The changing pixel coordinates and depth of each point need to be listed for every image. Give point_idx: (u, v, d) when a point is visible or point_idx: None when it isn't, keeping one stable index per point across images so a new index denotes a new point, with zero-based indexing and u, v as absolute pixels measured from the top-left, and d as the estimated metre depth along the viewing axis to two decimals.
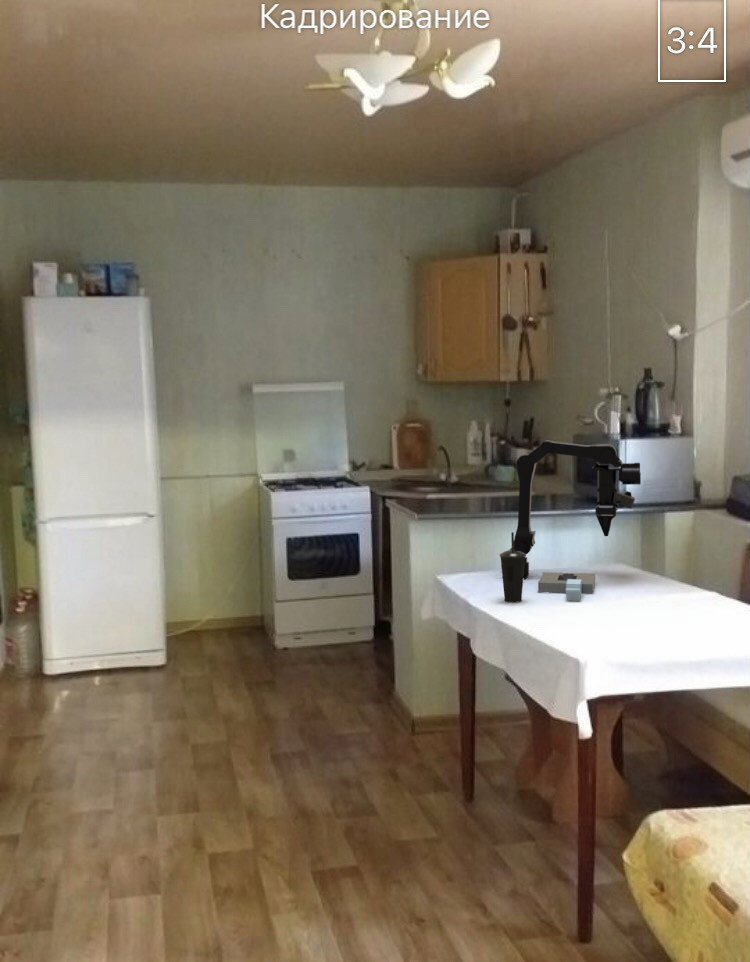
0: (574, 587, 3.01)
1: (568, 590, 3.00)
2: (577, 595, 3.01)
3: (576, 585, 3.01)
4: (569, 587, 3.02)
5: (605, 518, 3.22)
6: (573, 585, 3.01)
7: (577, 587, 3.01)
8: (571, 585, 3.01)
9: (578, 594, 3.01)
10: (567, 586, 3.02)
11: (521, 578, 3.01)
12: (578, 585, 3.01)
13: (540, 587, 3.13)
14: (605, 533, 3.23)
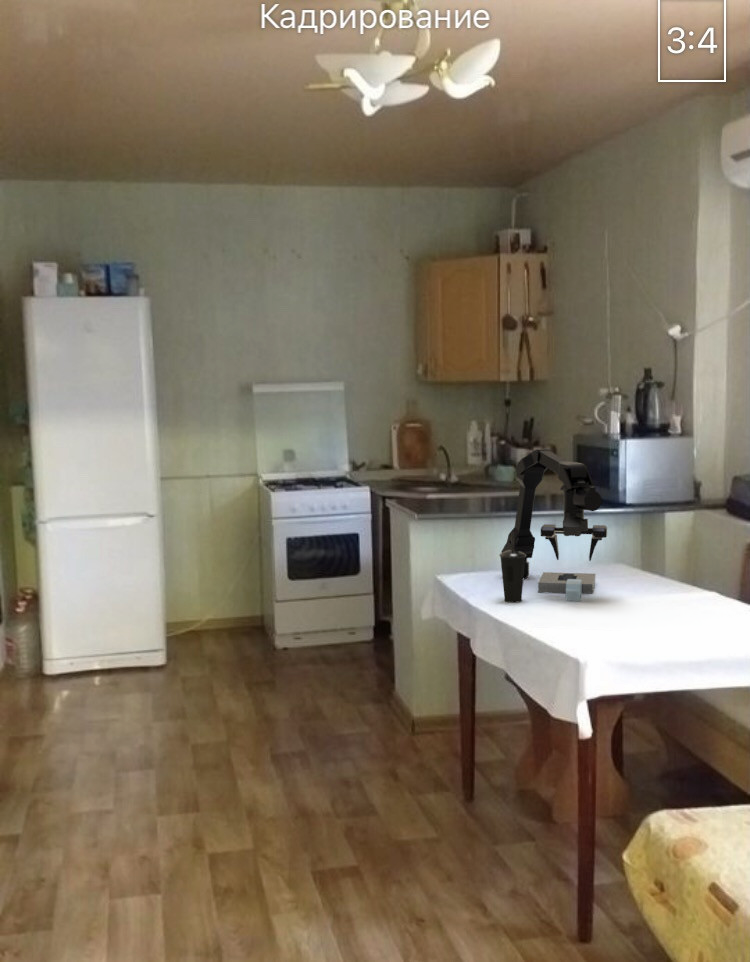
0: (574, 587, 3.01)
1: (568, 590, 3.00)
2: (577, 595, 3.01)
3: (576, 585, 3.01)
4: (569, 587, 3.02)
5: None
6: (573, 585, 3.01)
7: (577, 587, 3.01)
8: (571, 585, 3.01)
9: (578, 594, 3.01)
10: (567, 586, 3.02)
11: (521, 578, 3.01)
12: (578, 585, 3.01)
13: (540, 587, 3.13)
14: (556, 556, 3.05)
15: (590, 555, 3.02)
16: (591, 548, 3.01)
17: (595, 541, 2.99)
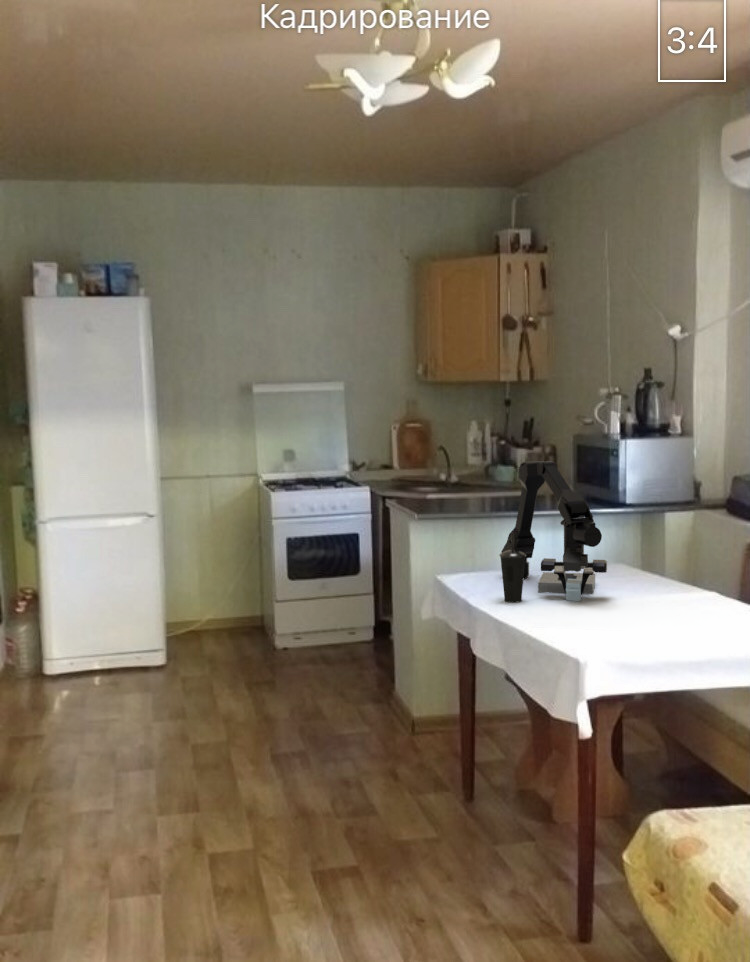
0: (574, 587, 3.01)
1: (568, 590, 3.00)
2: (577, 595, 3.01)
3: (576, 585, 3.01)
4: (569, 587, 3.02)
5: None
6: (573, 585, 3.01)
7: (577, 587, 3.01)
8: (571, 585, 3.01)
9: (578, 594, 3.01)
10: (567, 586, 3.02)
11: (521, 578, 3.01)
12: (578, 585, 3.01)
13: (540, 587, 3.13)
14: None
15: (581, 589, 3.03)
16: (582, 582, 3.02)
17: (586, 576, 3.01)
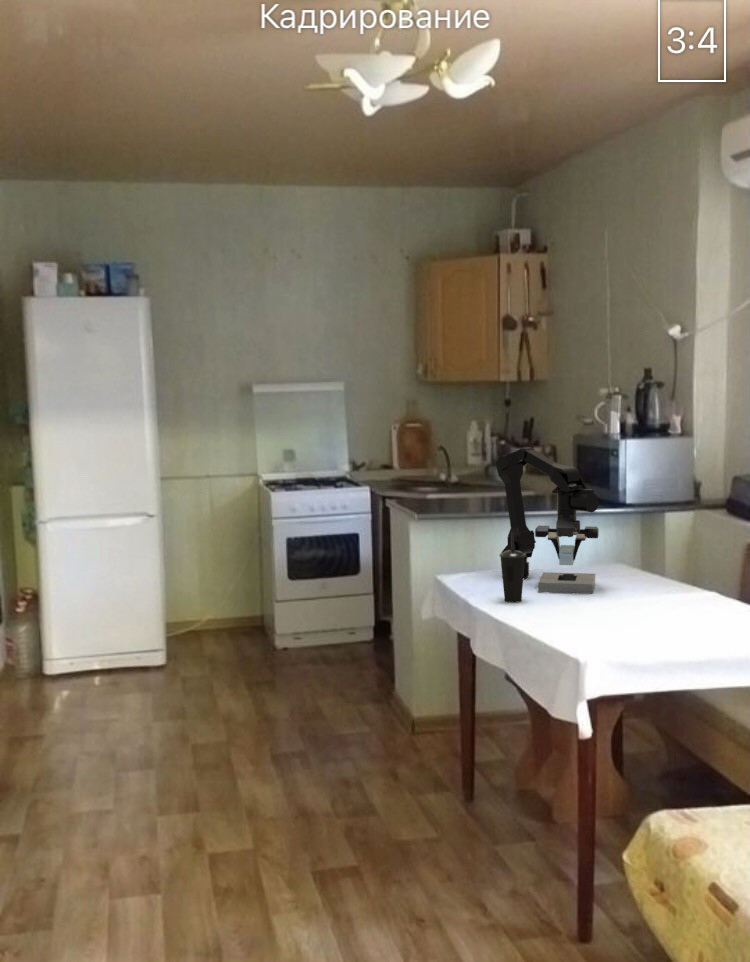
0: (567, 552, 3.15)
1: (561, 555, 3.13)
2: (569, 559, 3.15)
3: (569, 550, 3.14)
4: (562, 552, 3.15)
5: None
6: (566, 550, 3.15)
7: (570, 552, 3.14)
8: (564, 550, 3.15)
9: (571, 558, 3.15)
10: (560, 551, 3.15)
11: (521, 578, 3.01)
12: (571, 550, 3.14)
13: (540, 587, 3.13)
14: (558, 556, 3.19)
15: (574, 555, 3.17)
16: (575, 548, 3.16)
17: (579, 541, 3.14)
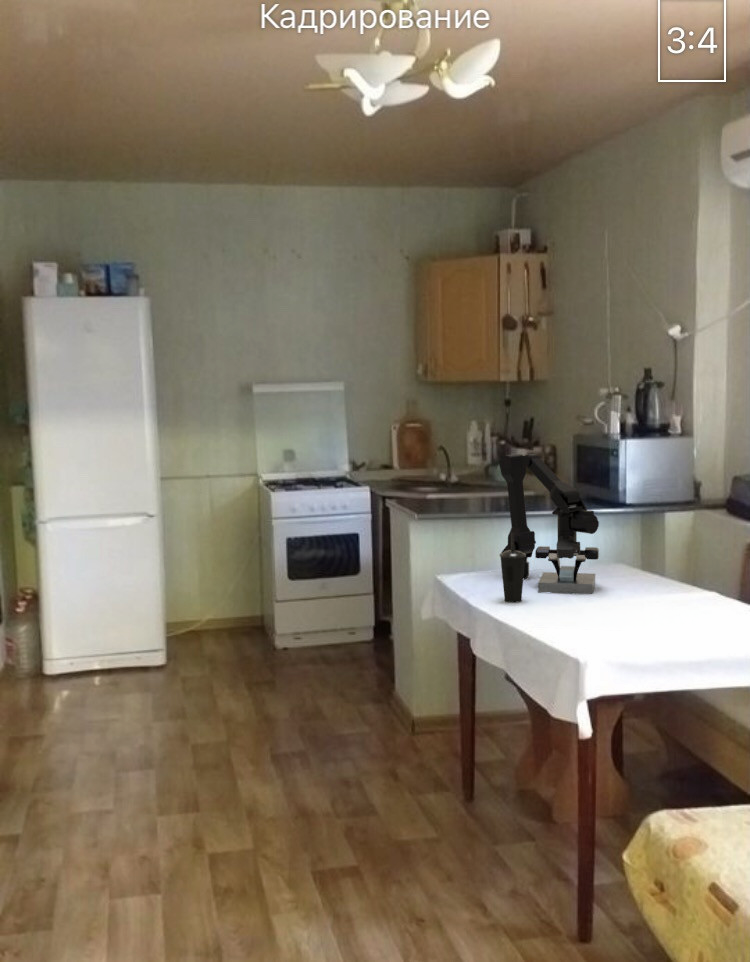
0: (567, 573, 3.15)
1: (561, 576, 3.14)
2: (570, 580, 3.15)
3: (569, 571, 3.15)
4: (562, 573, 3.16)
5: None
6: (566, 571, 3.15)
7: (570, 573, 3.15)
8: (564, 571, 3.15)
9: (571, 580, 3.15)
10: (560, 572, 3.16)
11: (521, 578, 3.01)
12: (571, 571, 3.15)
13: (540, 587, 3.13)
14: (558, 577, 3.20)
15: (574, 576, 3.17)
16: (575, 569, 3.17)
17: (579, 562, 3.15)
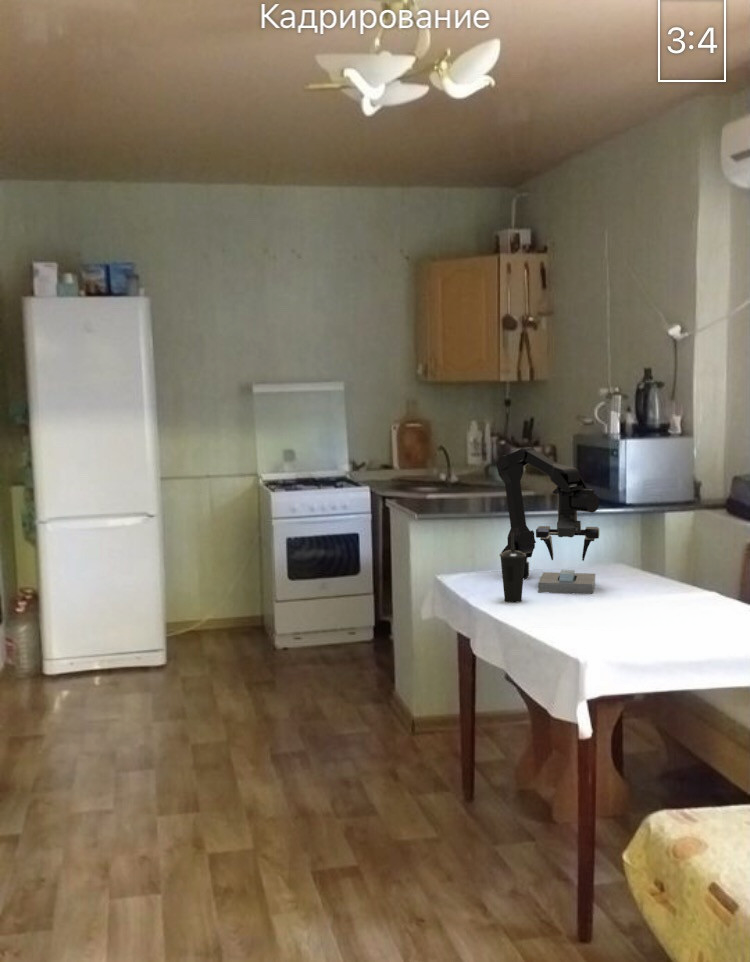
0: (567, 577, 3.15)
1: (561, 580, 3.14)
2: None
3: (569, 575, 3.15)
4: (562, 577, 3.16)
5: None
6: (566, 575, 3.15)
7: (570, 577, 3.15)
8: (564, 575, 3.16)
9: None
10: (560, 576, 3.16)
11: (521, 578, 3.01)
12: (571, 575, 3.15)
13: (540, 587, 3.13)
14: (551, 556, 3.19)
15: (583, 555, 3.16)
16: (584, 549, 3.15)
17: (588, 542, 3.14)
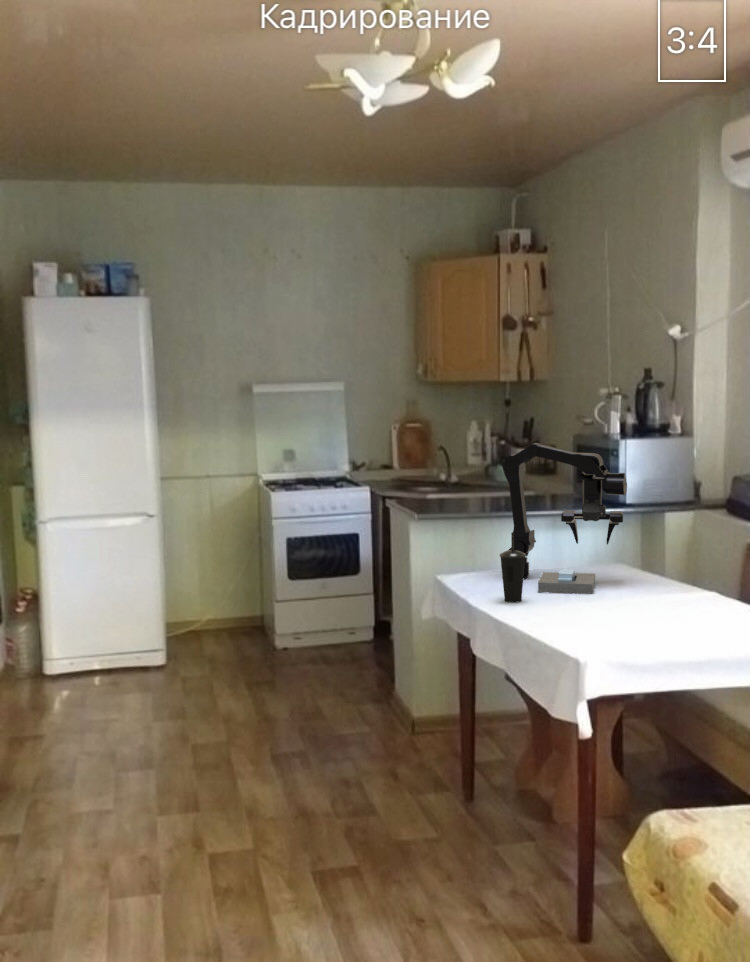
0: (566, 577, 3.16)
1: (560, 580, 3.14)
2: None
3: (568, 575, 3.15)
4: (561, 577, 3.16)
5: None
6: (565, 575, 3.16)
7: (569, 577, 3.15)
8: (563, 575, 3.16)
9: None
10: (559, 576, 3.16)
11: (521, 578, 3.01)
12: (570, 575, 3.15)
13: (540, 587, 3.13)
14: None
15: (607, 539, 3.23)
16: (608, 532, 3.23)
17: (612, 526, 3.21)
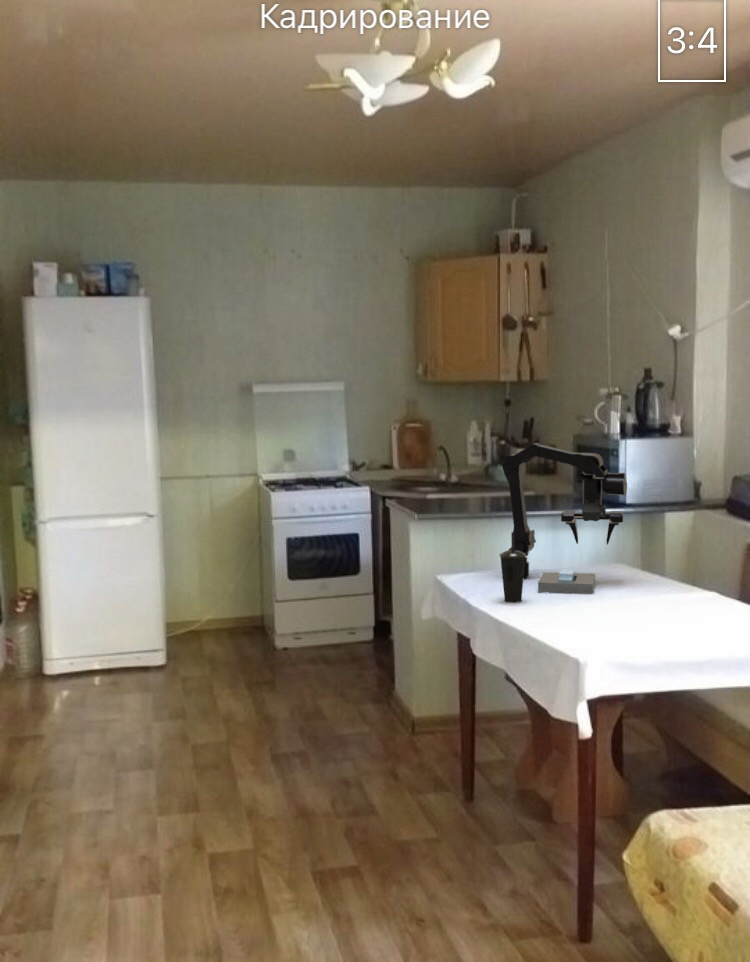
0: (566, 577, 3.15)
1: (560, 580, 3.14)
2: None
3: (568, 575, 3.15)
4: (562, 577, 3.16)
5: None
6: (565, 575, 3.16)
7: (569, 577, 3.15)
8: (564, 575, 3.16)
9: None
10: (560, 576, 3.16)
11: (521, 578, 3.01)
12: (570, 575, 3.15)
13: (540, 587, 3.13)
14: None
15: (607, 539, 3.23)
16: (608, 532, 3.23)
17: (612, 526, 3.21)
